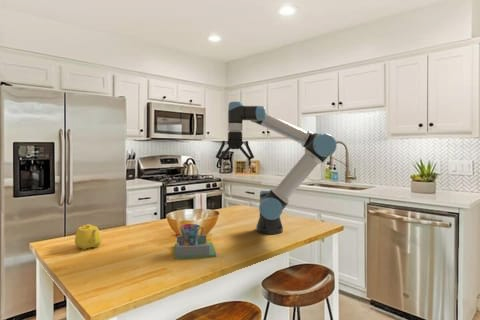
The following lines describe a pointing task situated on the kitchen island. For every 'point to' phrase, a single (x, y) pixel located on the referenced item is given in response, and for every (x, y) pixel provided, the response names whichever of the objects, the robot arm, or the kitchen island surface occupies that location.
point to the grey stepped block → (194, 249)
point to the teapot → (88, 237)
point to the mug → (190, 234)
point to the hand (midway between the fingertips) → (234, 171)
